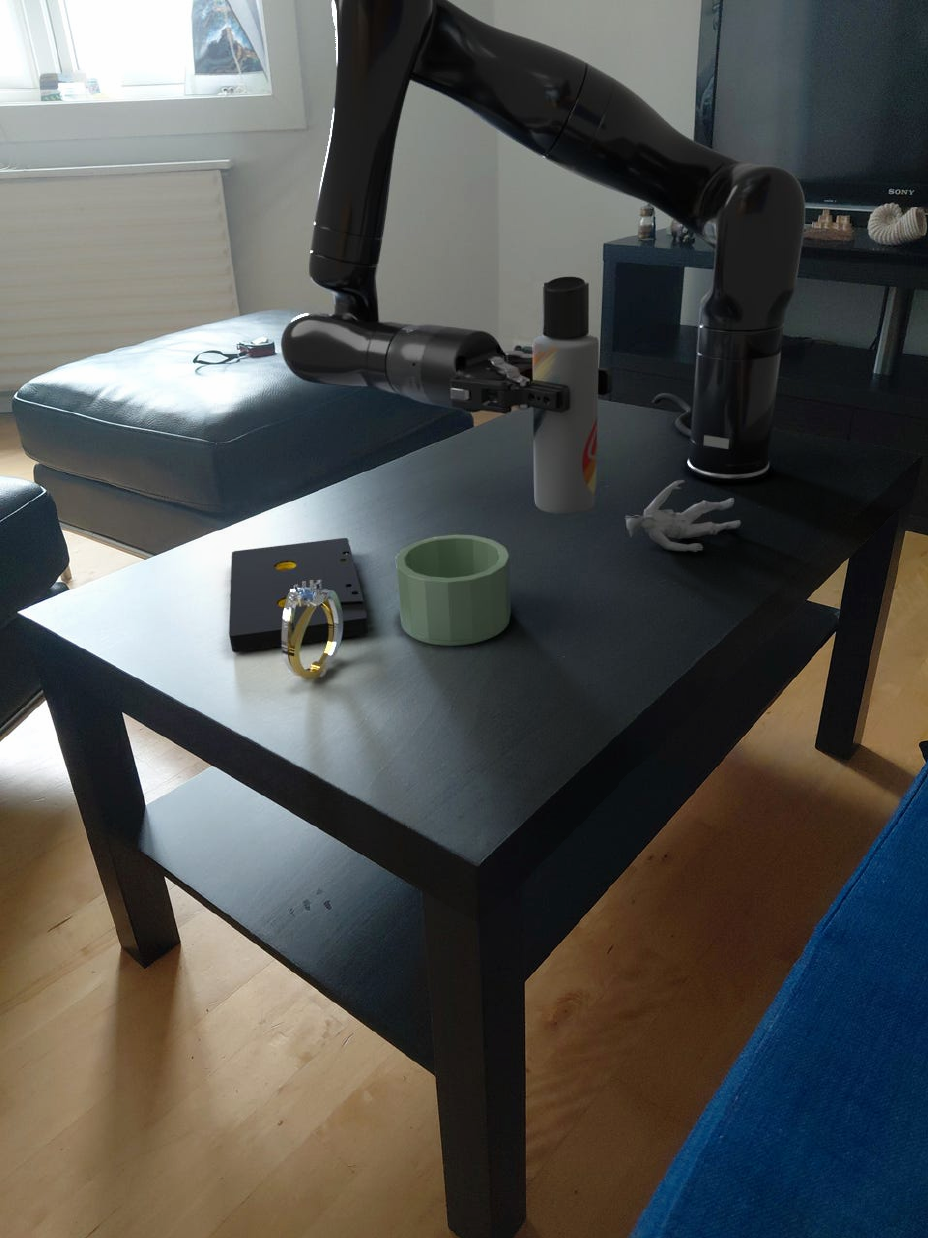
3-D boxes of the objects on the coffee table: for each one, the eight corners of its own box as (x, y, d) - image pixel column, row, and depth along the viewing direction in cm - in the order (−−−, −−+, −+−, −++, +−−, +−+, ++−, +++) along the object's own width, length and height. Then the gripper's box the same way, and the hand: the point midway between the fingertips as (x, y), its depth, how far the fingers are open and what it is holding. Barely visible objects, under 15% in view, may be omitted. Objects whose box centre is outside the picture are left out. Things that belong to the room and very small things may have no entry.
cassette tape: (369, 637, 81) (366, 614, 80) (232, 655, 79) (228, 633, 78) (349, 554, 97) (347, 534, 95) (234, 568, 95) (231, 548, 94)
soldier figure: (750, 550, 95) (664, 543, 89) (716, 570, 99) (631, 563, 92) (730, 482, 98) (645, 469, 91) (697, 503, 101) (613, 493, 95)
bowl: (397, 600, 87) (391, 540, 84) (499, 589, 88) (497, 529, 85) (406, 651, 78) (400, 586, 76) (519, 639, 79) (518, 574, 77)
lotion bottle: (601, 495, 90) (606, 273, 80) (588, 518, 85) (592, 285, 75) (543, 490, 91) (541, 273, 82) (527, 512, 87) (523, 284, 77)
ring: (328, 650, 79) (317, 564, 75) (360, 658, 78) (350, 571, 74) (276, 691, 74) (261, 600, 70) (308, 701, 72) (295, 608, 69)
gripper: (388, 341, 85) (538, 364, 75) (490, 313, 94) (636, 330, 84) (395, 423, 88) (539, 455, 78) (492, 388, 98) (632, 413, 88)
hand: (588, 390), depth 81 cm, fingers closed on lotion bottle, 5 cm apart
